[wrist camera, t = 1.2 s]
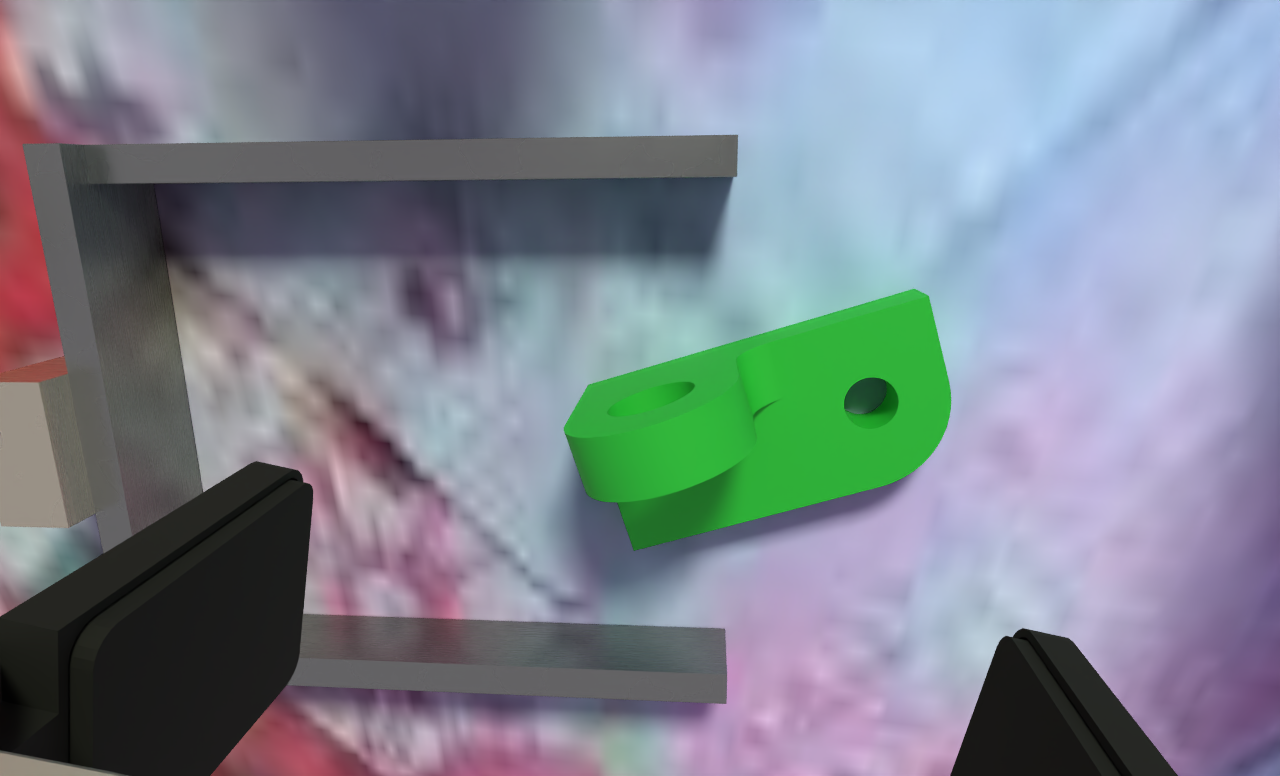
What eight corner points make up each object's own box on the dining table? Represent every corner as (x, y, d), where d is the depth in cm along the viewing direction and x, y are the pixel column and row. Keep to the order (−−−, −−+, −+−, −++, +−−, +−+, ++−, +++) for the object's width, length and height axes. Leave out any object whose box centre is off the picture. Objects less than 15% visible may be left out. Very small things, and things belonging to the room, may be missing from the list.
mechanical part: (638, 527, 30) (616, 643, 23) (589, 383, 29) (547, 455, 21) (950, 445, 29) (1041, 540, 21) (912, 287, 27) (994, 328, 20)
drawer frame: (734, 140, 26) (740, 129, 21) (724, 655, 31) (728, 745, 26) (53, 150, 28) (-88, 142, 23) (144, 634, 33) (45, 714, 28)
